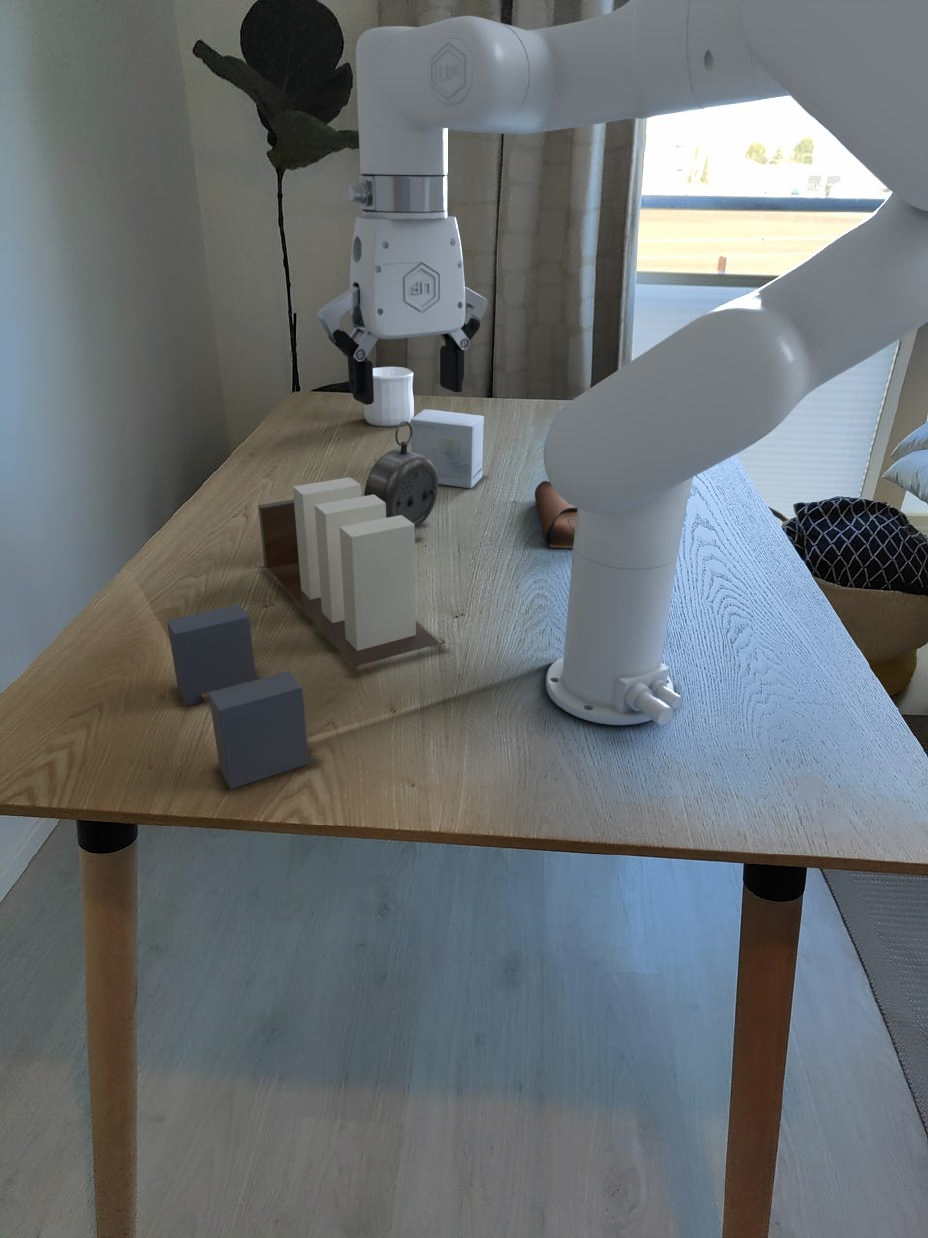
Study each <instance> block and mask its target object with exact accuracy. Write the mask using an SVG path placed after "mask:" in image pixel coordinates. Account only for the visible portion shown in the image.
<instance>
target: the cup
mask: <svg viewBox="0 0 928 1238" xmlns="http://www.w3.org/2000/svg"><path fill="white" fill-rule="evenodd" d="M414 374H415V373H414V372H413V371H412V370H411V369H409V368H407V367H403V366H382V367H380V366H379V367H373V388H374V402H373V403H372V404H370V405H365V404H363V414H364V419H365V421H366V422H367V423H368V424H369V425H370V426H371V425H372V426H376V427H398V425H399V424H400V423H401V422H402V421H408V422H409V423H410V424H411V419H412V418H413V417H415V402H414V401H415V400H414V399H415V398H414V393H413V381H414ZM404 425H407V424H406V423H404V424H402V425H401V426H404Z"/></svg>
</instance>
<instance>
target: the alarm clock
mask: <svg viewBox="0 0 928 1238" xmlns="http://www.w3.org/2000/svg"><path fill="white" fill-rule="evenodd" d="M404 423H406V424H404ZM402 424H404V425H407V426H408V427H409V437H408V439H407V441H405V440H404V441H403V440H402V441H401V442H400V441H399V439H398V433H399V430H400V428H401V426H403V425H402ZM394 435H395V436H394V437H395V442H396V444H397V445H398V446H400V448H394V449H391V450H389V451H387V452H386V453H384V454H383V455H381V457H380V458H379V459H378V460H377V461H376V462H375V463H374V464H373V466H372V468H371V470H370V472H369V474H368V476H367V479H366V482H365V486H364V495H363V496H368V495H375V496H377V497H378V498H380V499H381V500H382V501H384V502H385V503H386V518H389V517H394V516H399V515H402V516H403V517H405V518H406V519H408V520H409V521H410V522H412V523H413V524H414V525H415V530H416V529H418V528H419V527H420V526H421V525H422V524H423V523H424V522H425V521H426V520H427V519H428V517H429V516H430V514H431V512H432V511H433V509H434V506H435V504H436V501H437V497H438V492H439V484H438V476H437V472H436V469H435V467H434V465H433V464H432V462H431V461H430V460H429V459H427V458H426V457H424V456H422V455H419V454H416V453H413V452H412V451H411V450H408V445H409V443H410V441H411V437H412V426H411V422H410V423H409V422H408V421H402V422H401V423H400V424H399V425H398V426H396V429H395V434H394ZM416 532H417V531H415V534H416Z"/></svg>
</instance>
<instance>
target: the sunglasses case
mask: <svg viewBox="0 0 928 1238" xmlns="http://www.w3.org/2000/svg"><path fill="white" fill-rule="evenodd" d="M534 499H535V504H536V508H537V511H538V517H539V519H540V524H541V525H540V526H541V529H542V535H543V539H544V541H545V542H546V543H547V545H548V546H549V547H550V548H552V549H562V550H573V543H574V535H575V525H576V517H577V510H578V508H576V507H574V506H573V505H571V504H569V503H568V502H566V501H565V500H564V499H563V498H562V497H560V496H559V495H558V493H557V492H556V491H555V490H554V488H553V487H552V485H551V483H550V482H549V480H543V481H541V482H540V483H539V484H538V485H537V486H536V488H535V490H534Z"/></svg>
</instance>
